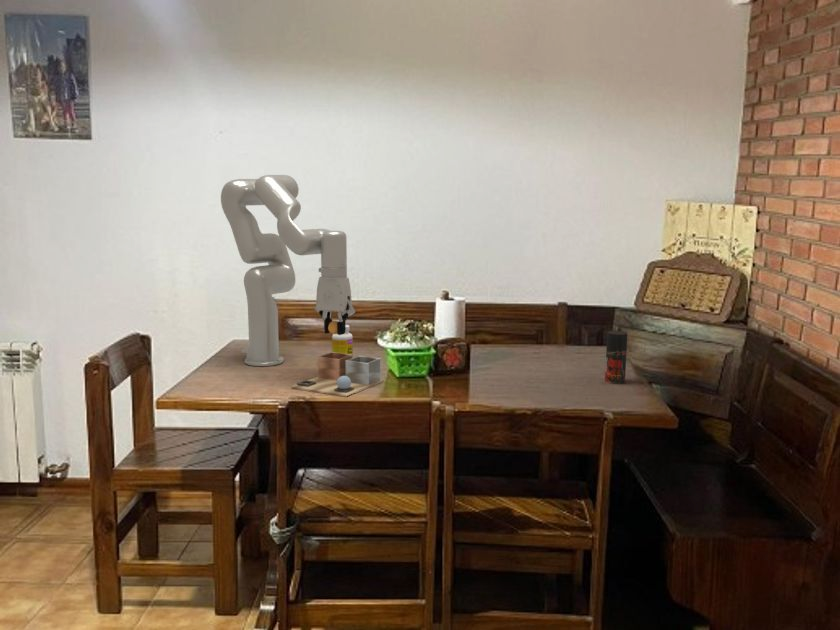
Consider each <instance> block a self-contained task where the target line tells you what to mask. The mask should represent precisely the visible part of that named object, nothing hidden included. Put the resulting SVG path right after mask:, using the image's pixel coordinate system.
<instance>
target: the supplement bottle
mask: <svg viewBox="0 0 840 630" xmlns="http://www.w3.org/2000/svg"><path fill="white" fill-rule="evenodd" d="M331 335H332V336H331V346H332V347H331V352H335V353H342V354H350V355H353V354H354V351H353V350H354V348H353V345H354V344H353V343H354V341H353V340H354V339H353V338H354V336H353V334H352V333H350V325H349V324H346V330H345V334H342V335H338V334H331Z"/></svg>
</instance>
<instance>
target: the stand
mask: <svg viewBox="0 0 840 630" xmlns="http://www.w3.org/2000/svg"><path fill="white" fill-rule="evenodd" d="M341 376H347V377H349V378H350V380H351V386H350V387H349V388H348V389H346V390H343V389H340V388H339V387H338V386H337V380H338V378H339V377H341ZM381 383H384V379H382V358H380V357H379V358H378V357H371V356H366V355H365V356H364V355H358V356H357V355H356V356H355V357H354V356H353V355H350V354H342V353H335V352H332V351H331V352H329V353H326V354H322V355H319V356H317V376H316V377H313V378H311V379H308V380H307V379H305V380H302V381H299V382H296V384H294V385H291V386H290V387H291V390H292V389H293V390H298V391H306V392H312V393H316V392H319V393H318V394H323V393H326V394H325V395H329V394H334V395H333V396H335V395H343V396H348V395H351V394H353V393H356V392H358V393H360V392H362V390H363V391H365V390H367V389H370V388H372V387H375V386H376V385H379V384H381ZM364 389H365V390H364ZM359 391H360V392H359ZM356 394H357V393H356ZM353 395H354V394H353ZM351 396H352V395H351Z"/></svg>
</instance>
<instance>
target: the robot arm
mask: <svg viewBox="0 0 840 630" xmlns="http://www.w3.org/2000/svg"><path fill="white" fill-rule="evenodd" d="M298 185H299V184H298V183H297V181H296V180H295V178H293V177H292V176H291V175H288V174H266V175H265V174H264V175H261V176H260V177H259V178H238V179H233V180H230V181H227V182H226V183H225V184H224V185H223V186H222V189H221V194H220V204H221V209H222V211H223V213H224V215H225V217H226V220H227V221H228V223H229V225H230V228H231V232H232V234H233V237H234V241H235V244H236V246H237V247H236V248H237V251H238V253H239V256H240V258H241V260H242V261H243V262H244V263H246V264H250V265H253V264H254V265H255V264H266V263H267V264H266V265H259V266H254V267H251V268H249V269H248V270H247V271H246V272H245V274H244V276H243V285H244V290H245V294H246V300H247V301H246V302H247V321H248V324H247V325H248V326H247V327H248V346H244V347H242V349H241V351H240V353H241V355H246V357H245V358H244V363H245V364H246V365H248V366H252V367H253V366H254V367H270V366H277V365H280V364H282V363H284V361H285V360H284V359H285V358H284V356H281V355H280V350H279V345H280V344H279V339H280V337H279V310H278V304H277V303H276V301H275V299H274V297H273V295H277V294H285V293H288V292H290V291H292V290H293V289H294V287H295V286H296V273H295V269H294V266H293V263H292V261H291V257H290V254H289V251H288V250H290V251H291V252H292V253H294V254H295V255H298V256H309V255H310V256H311V255H312V256H313V255H320V258H321V259H320V261H321V262H320V267H319V268H318V273H320V275H321V276H319V278H318V282H317V286H316V299H315V302H316V303H315V304H316V305H315V306H314V310H315V311H316V312H317V313H318V314H319V315H320V316H321V318H322V320H323V328H324V329H323V330H324V334H331V333H330V332H329V330H328V325H329V323H330V322H332V321H333V319H332V318H331V317H332V312H333V313H337V316H338V322H337V334H338V335H342V334H345V330H346V325H347V323H346V321H348V319H349V317H351V316H352V315H354V314H355V313H356V310H355V308H354V307H353V304H352V303H353V302H352V289H351V282H350V279H349V277H348V267H347V266H348V264H347V263H348V260H347V258H348V256H347V255H348V254H347V249H348V247H347V241H348V240H347V234H346V233H345V232H344V231H341V230H330V229H326V228H316V229H315V228H312V229H310V228H309V229H301V228H299V227H298V226H297V224H295V222H294V221H295V220H296V218H297V217H298V216H299V214H300V213H301V209H302V208H301V203H300V202H299V200H298V199H296V198H298V195H299V192H300V191H299V189H300V188H299V186H298ZM248 206H265V207H266V208H267V209H268V210H269V212H270V213H271V214H272V215H273V216H274V217H275V219H276V220H277V221H276V229H277V233H278V234H276V233H271V232H270V233H262V231H261V229H260V227H259V223H258V221H257V219H256V217H255V215H254V214H253V213H252V212H251V211H250V210H249V209H248V208H247V207H248Z"/></svg>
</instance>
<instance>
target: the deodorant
mask: <svg viewBox="0 0 840 630" xmlns="http://www.w3.org/2000/svg"><path fill="white" fill-rule="evenodd" d="M605 349H606V350H605V351H606V353H605V370H604V371H605V372H604V382H606V383H609V384H613V385H621V384H624V383H625V382H626V369H627V353H628V351H627V350H628V332H626V331H622V330H609V331H607V332H606V348H605Z"/></svg>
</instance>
